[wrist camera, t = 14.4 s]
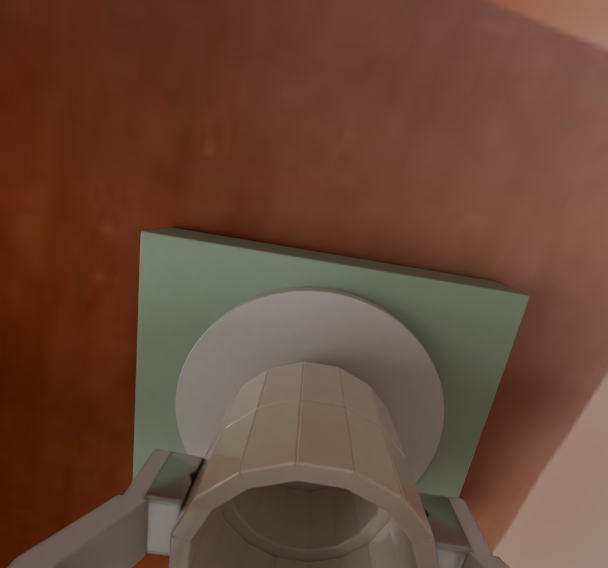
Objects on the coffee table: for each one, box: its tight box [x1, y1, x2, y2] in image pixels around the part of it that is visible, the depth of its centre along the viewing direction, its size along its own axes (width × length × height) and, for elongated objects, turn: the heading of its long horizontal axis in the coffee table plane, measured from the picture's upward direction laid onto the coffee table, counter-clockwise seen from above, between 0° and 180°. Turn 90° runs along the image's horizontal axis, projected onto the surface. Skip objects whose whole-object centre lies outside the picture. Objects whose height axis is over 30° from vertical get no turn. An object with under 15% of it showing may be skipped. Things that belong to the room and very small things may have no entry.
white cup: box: [168, 362, 440, 568], centre depth 10 cm, size 6×6×5 cm
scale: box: [133, 227, 530, 498], centre depth 14 cm, size 15×13×3 cm
